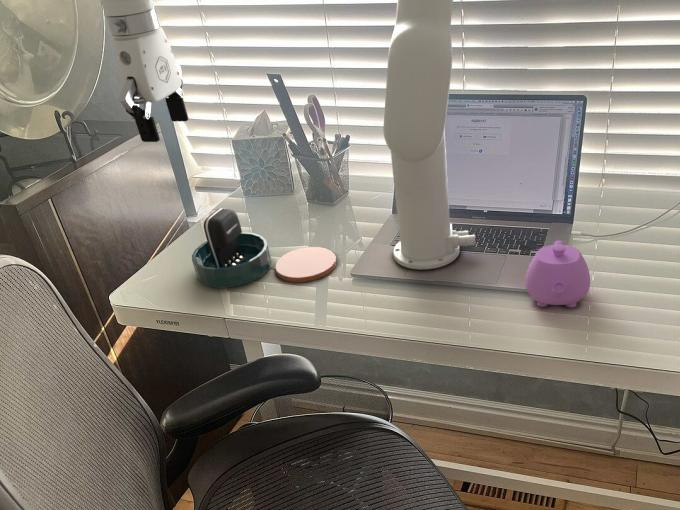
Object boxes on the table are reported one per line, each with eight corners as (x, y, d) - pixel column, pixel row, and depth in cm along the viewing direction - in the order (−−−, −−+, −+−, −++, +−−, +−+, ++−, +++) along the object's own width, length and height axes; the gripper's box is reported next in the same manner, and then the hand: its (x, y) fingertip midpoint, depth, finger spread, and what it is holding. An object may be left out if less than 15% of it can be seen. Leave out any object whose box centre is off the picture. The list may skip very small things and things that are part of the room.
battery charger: (233, 278, 129) (218, 223, 122) (216, 276, 130) (200, 221, 124) (252, 259, 134) (238, 206, 127) (235, 257, 135) (221, 204, 129)
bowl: (278, 250, 138) (273, 230, 135) (263, 288, 126) (258, 266, 124) (209, 254, 139) (203, 234, 136) (189, 292, 128) (182, 271, 125)
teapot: (588, 276, 119) (591, 227, 113) (590, 326, 107) (594, 274, 101) (526, 275, 121) (527, 227, 115) (522, 324, 109) (523, 273, 104)
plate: (339, 249, 135) (339, 244, 135) (332, 280, 126) (331, 275, 125) (282, 253, 136) (281, 248, 136) (270, 284, 127) (269, 279, 127)
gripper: (123, 37, 100) (159, 150, 111) (182, 10, 114) (209, 113, 124) (80, 39, 102) (119, 149, 113) (143, 12, 116) (172, 113, 126)
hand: (166, 130), depth 118 cm, fingers open, 9 cm apart
